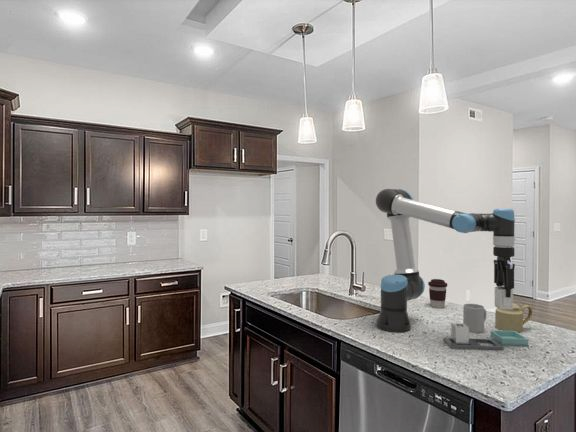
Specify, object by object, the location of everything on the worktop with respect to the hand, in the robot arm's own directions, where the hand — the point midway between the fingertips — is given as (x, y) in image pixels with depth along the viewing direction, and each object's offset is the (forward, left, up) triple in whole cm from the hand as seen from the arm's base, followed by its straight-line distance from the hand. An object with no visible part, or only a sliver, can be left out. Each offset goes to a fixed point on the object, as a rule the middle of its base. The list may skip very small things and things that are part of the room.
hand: (503, 303), depth 156 cm
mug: (-3, +18, -17) cm, 24 cm away
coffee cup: (-8, +57, -17) cm, 60 cm away
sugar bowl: (+14, +21, -17) cm, 30 cm away
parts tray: (+4, +3, -16) cm, 17 cm away
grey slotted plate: (-13, -3, -16) cm, 22 cm away
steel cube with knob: (0, 0, -2) cm, 2 cm away
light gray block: (-18, -3, -16) cm, 25 cm away
